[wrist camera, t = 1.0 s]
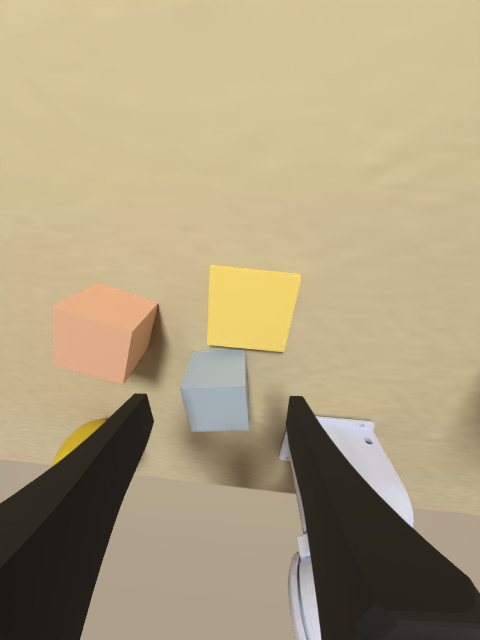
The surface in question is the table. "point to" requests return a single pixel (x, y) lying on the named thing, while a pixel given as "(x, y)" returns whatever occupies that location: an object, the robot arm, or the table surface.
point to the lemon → (77, 439)
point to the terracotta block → (102, 332)
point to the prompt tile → (250, 307)
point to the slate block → (217, 391)
